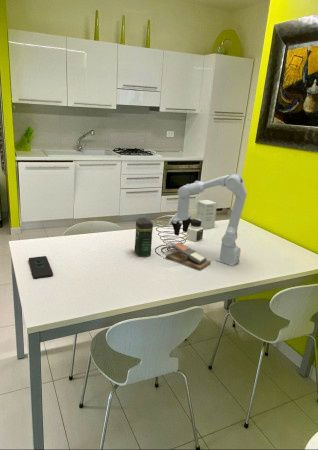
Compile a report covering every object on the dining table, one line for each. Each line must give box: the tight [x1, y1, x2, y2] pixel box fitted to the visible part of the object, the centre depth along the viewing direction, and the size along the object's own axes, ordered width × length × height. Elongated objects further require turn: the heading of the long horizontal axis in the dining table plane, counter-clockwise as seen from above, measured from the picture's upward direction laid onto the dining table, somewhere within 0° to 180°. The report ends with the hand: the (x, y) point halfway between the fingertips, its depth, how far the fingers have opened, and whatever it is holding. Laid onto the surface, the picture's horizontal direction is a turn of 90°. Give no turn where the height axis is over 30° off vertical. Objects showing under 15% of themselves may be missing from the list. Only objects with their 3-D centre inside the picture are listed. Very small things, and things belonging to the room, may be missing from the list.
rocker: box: [171, 242, 207, 264], centre depth 170 cm, size 17×6×2 cm, turn 53°
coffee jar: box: [134, 217, 154, 258], centre depth 174 cm, size 10×8×19 cm
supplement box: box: [195, 199, 218, 230], centre depth 222 cm, size 10×9×17 cm
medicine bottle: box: [186, 218, 204, 243], centre depth 200 cm, size 7×7×12 cm
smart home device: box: [28, 255, 54, 280], centre depth 154 cm, size 8×2×20 cm
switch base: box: [165, 249, 211, 271], centre depth 171 cm, size 20×10×5 cm, turn 53°
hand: (180, 233), depth 181 cm, fingers open, 7 cm apart
